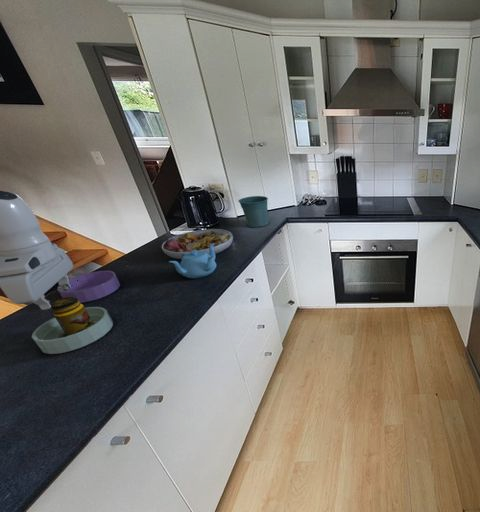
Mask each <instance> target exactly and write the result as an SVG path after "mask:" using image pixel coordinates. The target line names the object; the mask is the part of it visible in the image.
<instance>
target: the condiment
mask: <svg viewBox="0 0 480 512" xmlns="http://www.w3.org/2000/svg"><path fill="white" fill-rule="evenodd" d="M52 303H53V306H52V307H51V308H50V309H51V310H52V312H53V316H54V317H53V318H56V320H57V321H58V323H59V324H60V326H61V328H62V329H63V331H64V333H61V334H59V338H63V337H66V336H69V335H72V334H76V333H78V332H80V331H83V330H85V329H87V328H89V327H90V326H92V325H94V324H95V323H93V321H92V319H91V318H90V316H89V314H88V312H87V311H86V309H85V308H86V307H85V306H84V303H83V304H82V303H80V302H79V301H78V299H77V298H76V297H65V298H62V297H61V298H59V299H57V300H55V301H52ZM96 323H97V322H96Z"/></svg>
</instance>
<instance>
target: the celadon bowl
mask: <svg viewBox="0 0 480 512" xmlns="http://www.w3.org/2000/svg"><path fill="white" fill-rule="evenodd" d="M85 309H86V311H87V312H88V314H89V316H90V318H91V319H92V321H93V323H95V324H94V325H92V326H90V327H89V328H87V329H85V330H83V331H80V332H78V333H76V334H72V335H69V336H66V337H63V338H59V334H61V333H64V331H63V329H62V328H61V326H60V324H59V323H58V321H57V320H56V318H55V317H53V318H51V319H48V320H47V321H45V322H44V323H42V324H41V325H39V326H38V327H36V329H35V330H34V331H33V332H32V335H31V339H32V340H33V341H34V343H35V344H36V345H37V347H38V349H40V350H41V352H42V353H44V354H48V355H55V354H56V355H59V354H63V353H68V352H72V351H75V350H79V349H81V348H84V347H86V346H88V345H90V344H92V343H94V342H96V341H97V340H99V339H101V338H102V337H104V336H105V335H106V334H107V333H108V332H110V331H111V329H112V328H113V326H114V321H113V320H112V318H111V316H110V314H109V312H108V310H107V309H106V308H104V307H101V306H89V307H85ZM96 322H97V323H96Z"/></svg>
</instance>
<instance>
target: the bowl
mask: <svg viewBox="0 0 480 512" xmlns="http://www.w3.org/2000/svg"><path fill="white" fill-rule="evenodd" d="M233 240H234V235H233V233H232V232H231V231H230V230H226V229H220V228H208V229H198V230H193V231H188V232H183V233H181V234H177V235H175V236H172V237H170V238H168V239H167V240H165V241H163V243H162V245H161V249H162V252H163V253H164V254H165V255H166V256H168V257H170V258H171V259H172V258H173V259H177V260H182V254H183V253H190V251H192V250H197V251H204V252H206V253H207V254H209V247H210V245H211V244H212V243H214V246H213V250H214V252H215V255H216V254H220V253H221V252H223V251H225V250H226V249H228V248H229V247H230V246H231V245H232V243H233V242H234V241H233Z"/></svg>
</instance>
